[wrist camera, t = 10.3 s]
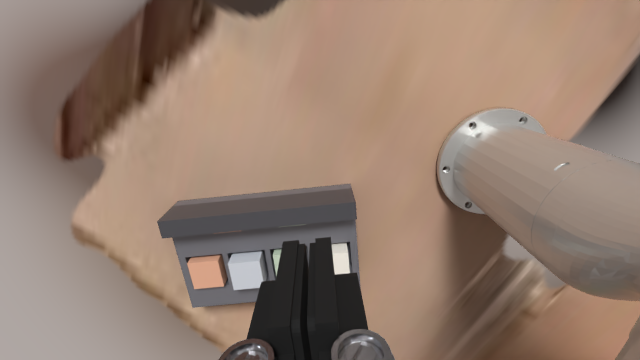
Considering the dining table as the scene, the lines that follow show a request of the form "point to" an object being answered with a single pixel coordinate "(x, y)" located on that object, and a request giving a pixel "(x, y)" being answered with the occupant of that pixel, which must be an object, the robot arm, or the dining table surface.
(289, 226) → the keypad
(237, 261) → the key slate
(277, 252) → the key sage
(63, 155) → the dining table surface
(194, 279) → the key terracotta
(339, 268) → the key cream
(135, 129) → the dining table surface
